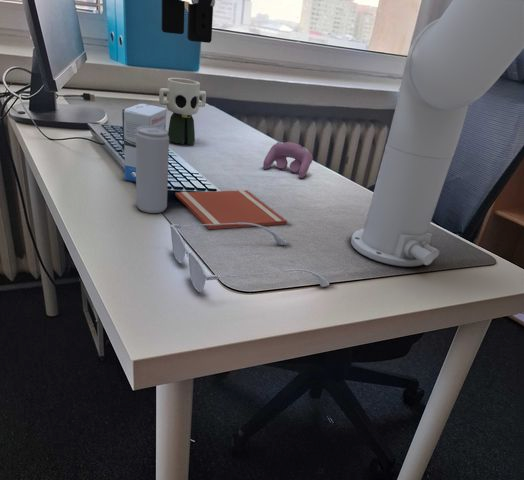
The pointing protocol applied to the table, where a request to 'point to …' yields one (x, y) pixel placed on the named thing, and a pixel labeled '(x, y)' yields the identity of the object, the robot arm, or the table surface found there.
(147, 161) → the beverage can
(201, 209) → the towel
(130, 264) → the table surface
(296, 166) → the video game controller
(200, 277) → the eyeglasses
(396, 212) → the robot arm
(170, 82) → the character mug
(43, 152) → the table surface
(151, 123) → the ink box
